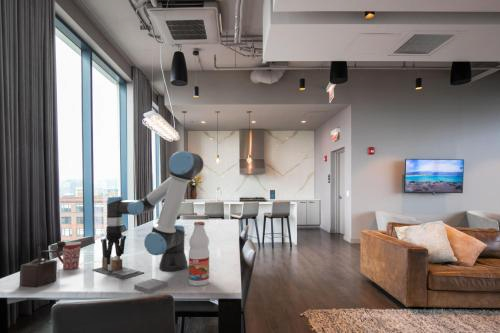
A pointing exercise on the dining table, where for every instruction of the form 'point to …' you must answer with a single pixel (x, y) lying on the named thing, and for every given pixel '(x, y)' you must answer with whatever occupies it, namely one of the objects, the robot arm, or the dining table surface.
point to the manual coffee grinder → (40, 269)
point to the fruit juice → (199, 256)
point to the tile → (150, 285)
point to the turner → (117, 267)
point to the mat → (114, 274)
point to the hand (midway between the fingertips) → (113, 269)
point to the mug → (70, 255)
